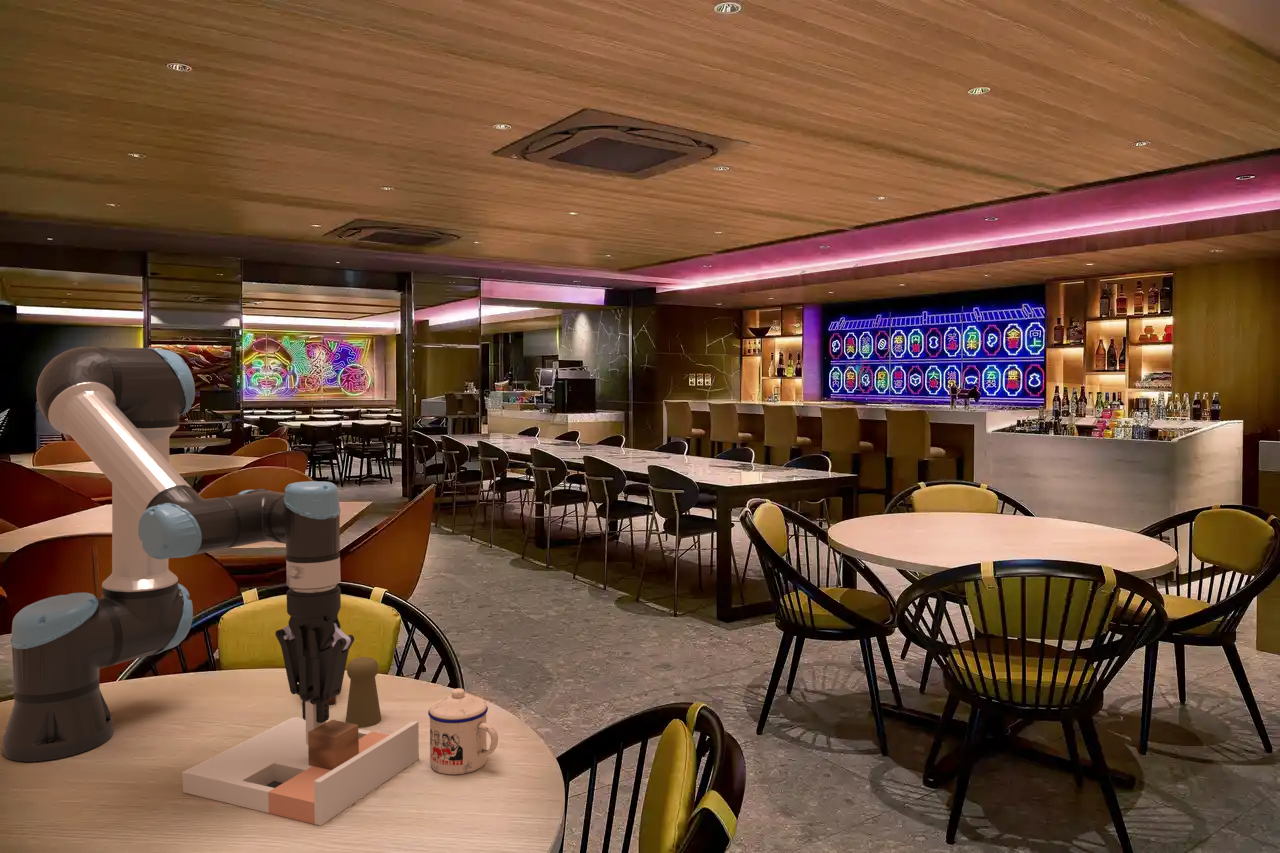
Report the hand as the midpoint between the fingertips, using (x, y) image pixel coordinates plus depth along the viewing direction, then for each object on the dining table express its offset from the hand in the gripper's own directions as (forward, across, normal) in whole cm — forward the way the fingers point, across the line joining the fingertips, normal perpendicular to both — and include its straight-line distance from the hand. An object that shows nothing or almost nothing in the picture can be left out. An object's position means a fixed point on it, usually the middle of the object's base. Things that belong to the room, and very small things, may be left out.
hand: (316, 741), depth 132 cm
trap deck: (+6, -3, 0) cm, 6 cm away
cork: (+6, -8, +20) cm, 22 cm away
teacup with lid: (+6, +18, +12) cm, 23 cm away
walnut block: (+3, +3, 0) cm, 4 cm away
